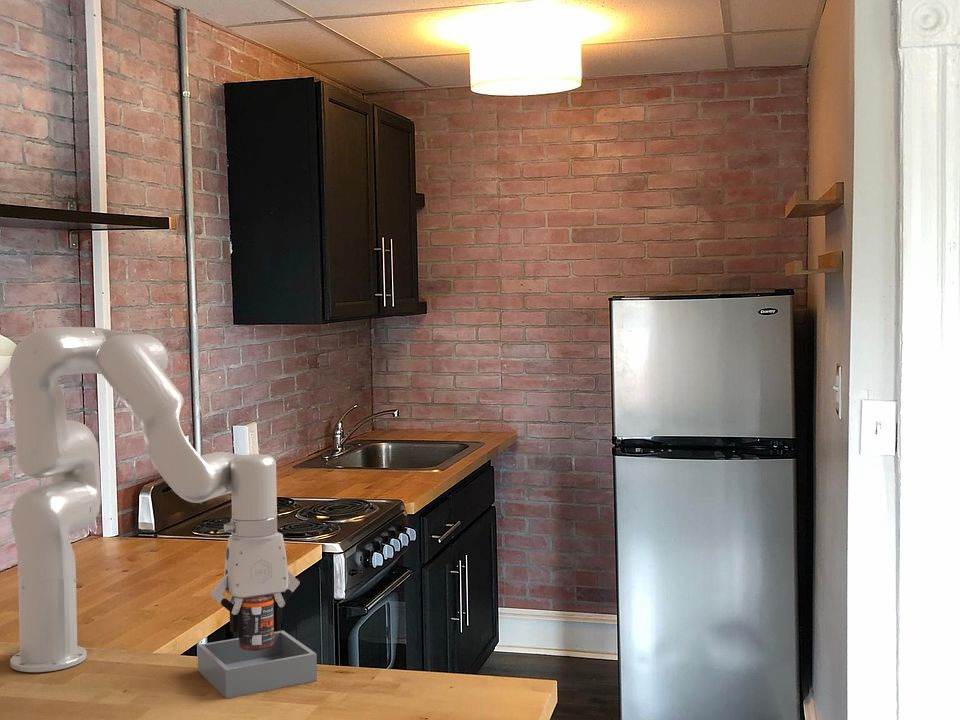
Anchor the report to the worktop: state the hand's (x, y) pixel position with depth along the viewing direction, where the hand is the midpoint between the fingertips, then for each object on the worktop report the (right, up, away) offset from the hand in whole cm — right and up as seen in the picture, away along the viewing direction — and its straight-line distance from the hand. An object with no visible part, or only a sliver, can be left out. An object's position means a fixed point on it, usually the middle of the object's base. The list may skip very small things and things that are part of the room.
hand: (256, 631), depth 177 cm
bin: (0, -8, 0) cm, 8 cm away
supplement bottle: (0, -3, 0) cm, 3 cm away
